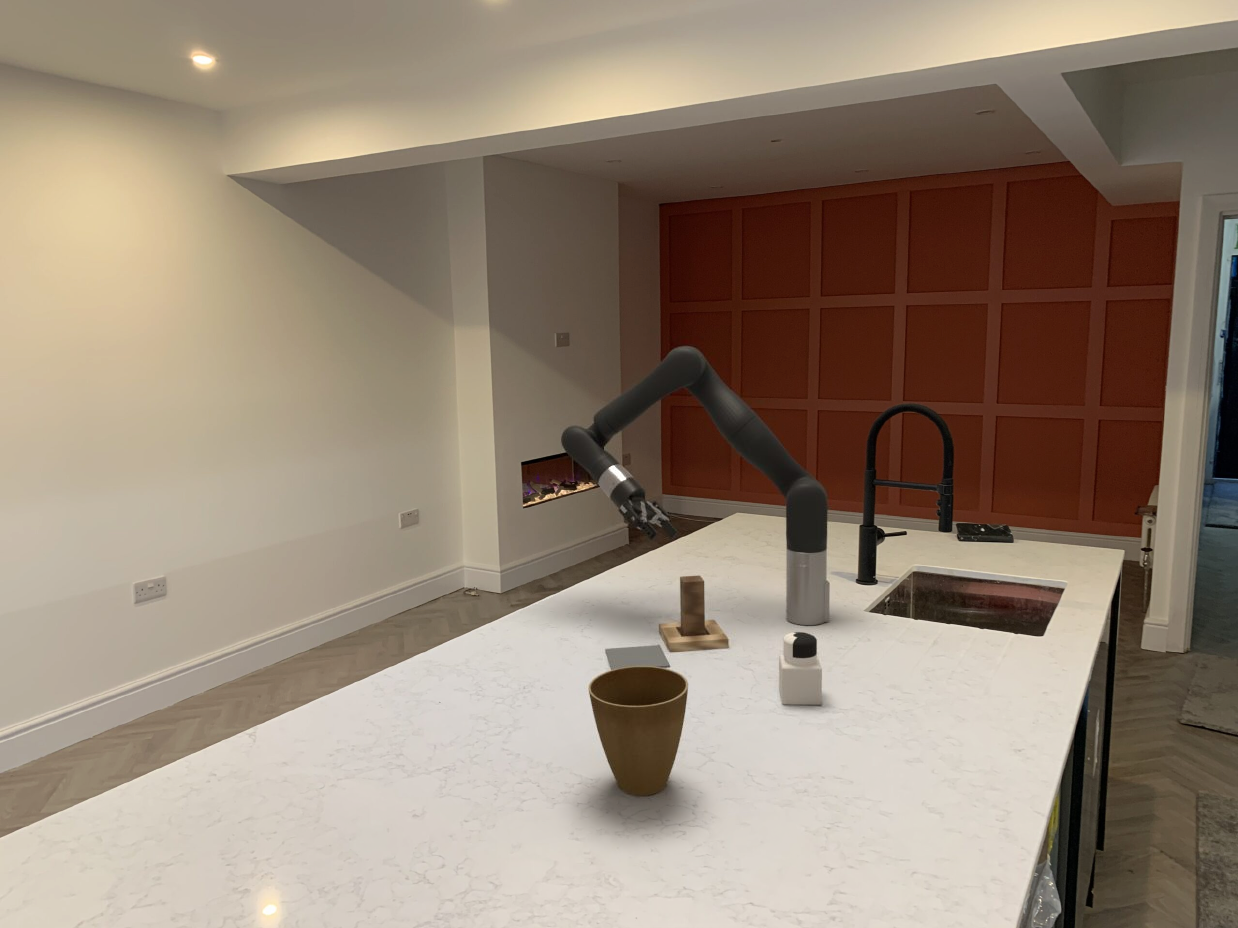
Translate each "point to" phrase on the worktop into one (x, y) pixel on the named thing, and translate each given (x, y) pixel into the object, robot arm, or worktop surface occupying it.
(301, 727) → the worktop surface
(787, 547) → the robot arm
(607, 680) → the plant pot
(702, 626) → the walnut post
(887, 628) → the worktop surface
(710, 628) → the oak socket
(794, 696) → the medicine bottle
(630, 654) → the grey mat
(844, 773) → the worktop surface
